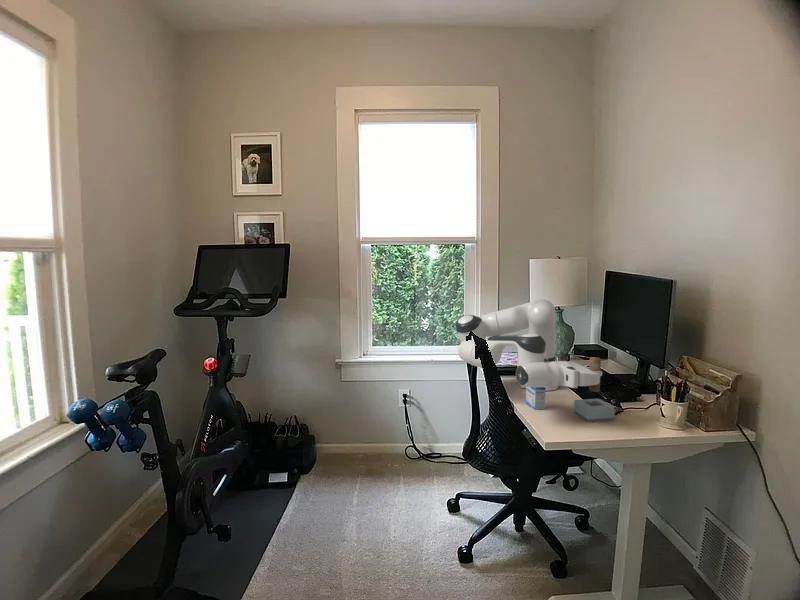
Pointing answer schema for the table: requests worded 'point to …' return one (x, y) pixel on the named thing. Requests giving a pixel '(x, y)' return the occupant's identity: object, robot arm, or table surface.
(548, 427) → the table surface
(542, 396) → the medicine box
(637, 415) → the table surface
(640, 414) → the table surface
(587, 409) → the socket block
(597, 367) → the dowel
